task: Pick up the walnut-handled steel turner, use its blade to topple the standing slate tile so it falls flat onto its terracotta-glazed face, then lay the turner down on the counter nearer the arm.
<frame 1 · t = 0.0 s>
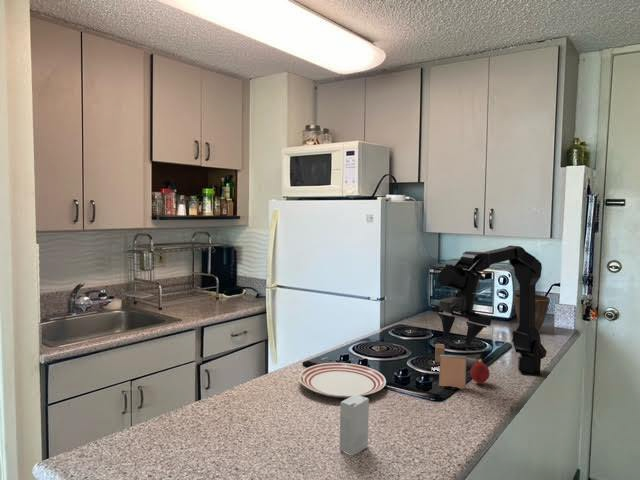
hand: (455, 341, 148), 15 cm above the counter, tool pointing down, fingers open, 9 cm apart
plant pot: (530, 331, 219), on the counter
dinner plate: (342, 387, 152), on the counter
tile: (452, 387, 152), on the counter
turner: (439, 361, 176), on the counter
skincare box: (353, 450, 113), on the counter
onion: (479, 384, 154), on the counter
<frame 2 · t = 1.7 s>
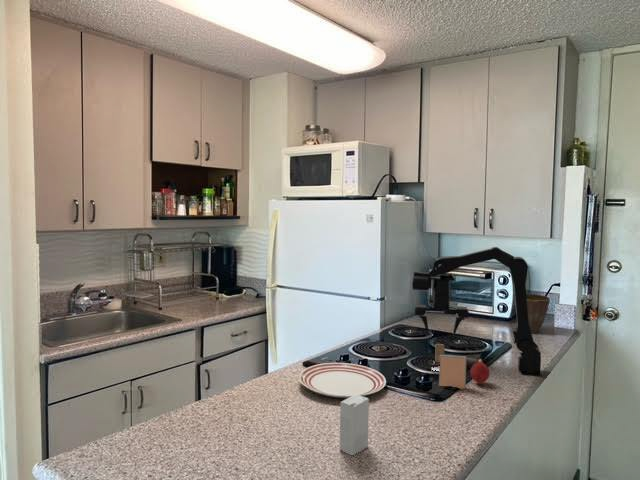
hand: (440, 334, 175), 10 cm above the counter, tool pointing down, fingers open, 9 cm apart
nothing on the counter moved.
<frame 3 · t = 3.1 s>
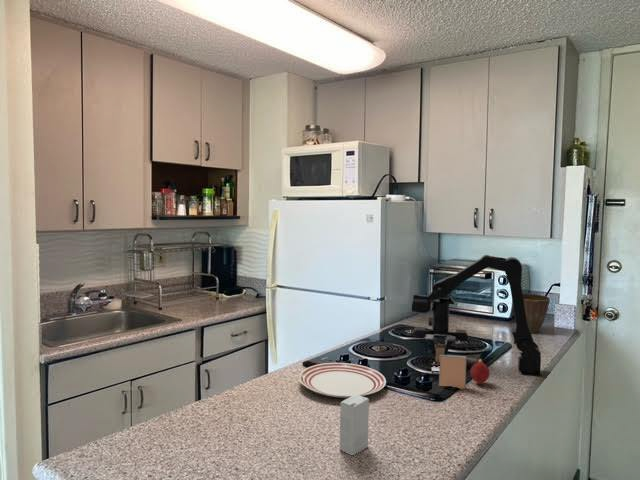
hand: (439, 357, 175), 2 cm above the counter, tool pointing down, fingers closed on turner, 3 cm apart
turner: (439, 361, 176), on the counter, touching gripper
everything else where it was.
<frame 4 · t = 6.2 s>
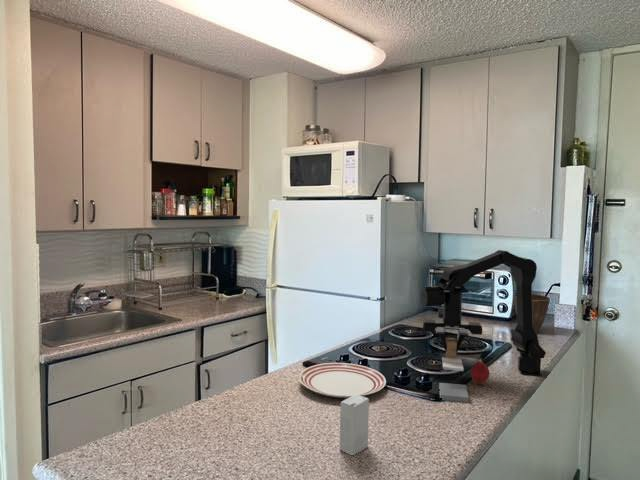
hand: (451, 352, 160), 8 cm above the counter, tool pointing down, fingers closed on turner, 3 cm apart
tile: (452, 386, 150), point 1 cm above the counter, tilted 90°
turner: (450, 357, 160), point 7 cm above the counter, touching gripper
everything else where it was.
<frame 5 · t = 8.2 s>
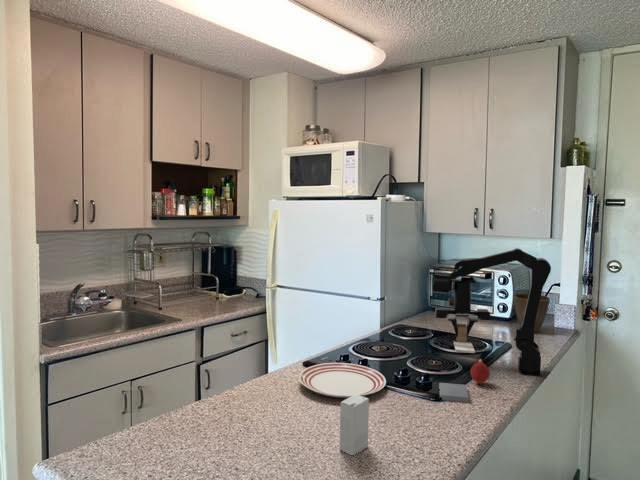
hand: (461, 337, 173), 10 cm above the counter, tool pointing down, fingers closed on turner, 3 cm apart
turner: (461, 342, 173), point 8 cm above the counter, touching gripper
everything else where it was.
when the fingers open (2 cm above the counter, at t = 10.0 s): turner stays where it is, on the counter.
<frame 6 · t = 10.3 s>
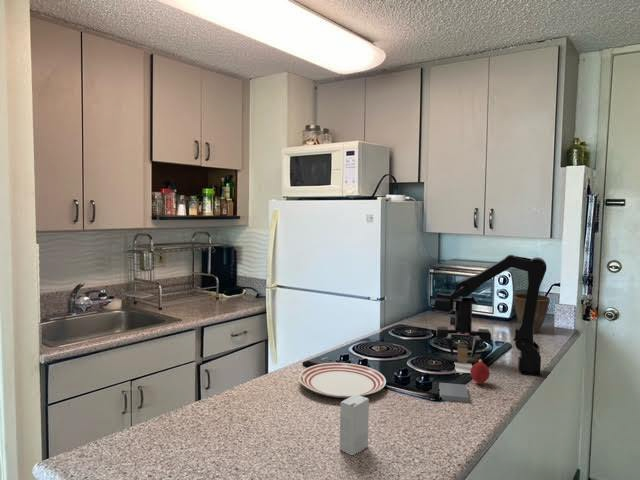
hand: (462, 356, 175), 2 cm above the counter, tool pointing down, fingers open, 7 cm apart
turner: (462, 362, 175), on the counter
everything else where it was.
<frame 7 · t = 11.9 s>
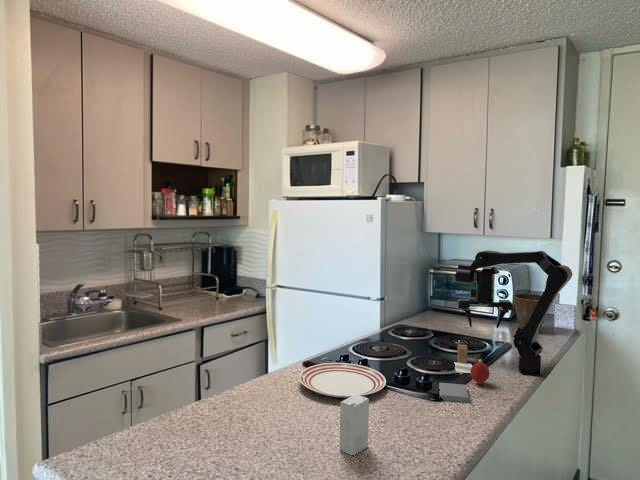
hand: (483, 327, 175), 13 cm above the counter, tool pointing down, fingers open, 9 cm apart
nothing on the counter moved.
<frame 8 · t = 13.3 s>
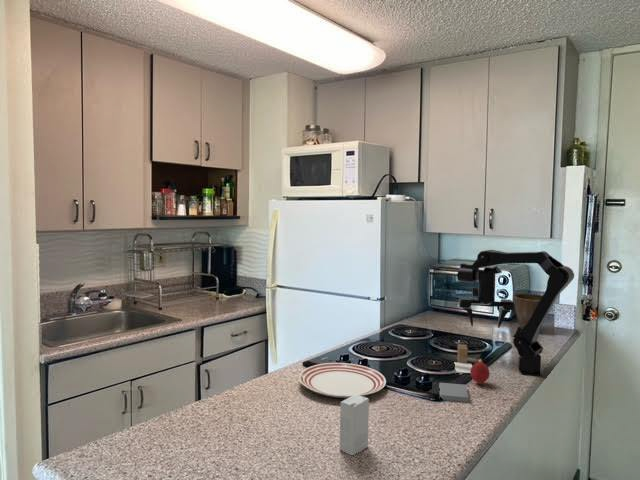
hand: (485, 326, 175), 13 cm above the counter, tool pointing down, fingers open, 9 cm apart
nothing on the counter moved.
at the end: tile tilted 90°; the gripper is holding nothing; turner inside the target area (0.1 cm from its centre), on the counter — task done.
